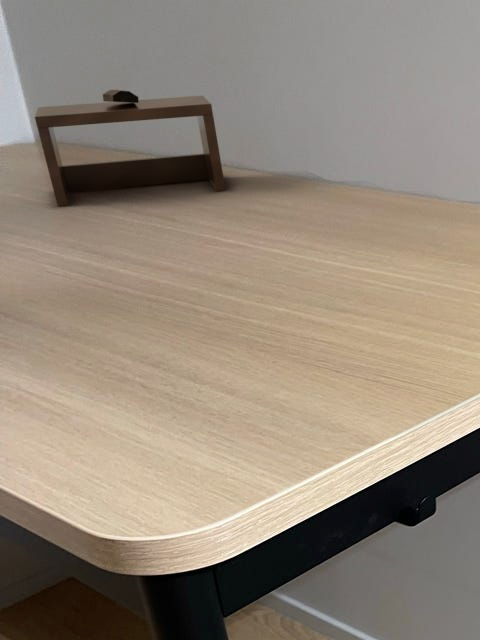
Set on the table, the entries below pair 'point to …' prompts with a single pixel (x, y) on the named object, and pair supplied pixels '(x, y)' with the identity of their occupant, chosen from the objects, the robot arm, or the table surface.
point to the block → (120, 96)
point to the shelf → (136, 169)
